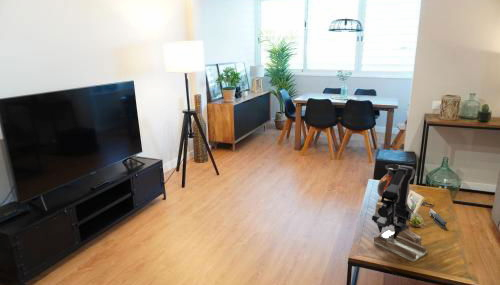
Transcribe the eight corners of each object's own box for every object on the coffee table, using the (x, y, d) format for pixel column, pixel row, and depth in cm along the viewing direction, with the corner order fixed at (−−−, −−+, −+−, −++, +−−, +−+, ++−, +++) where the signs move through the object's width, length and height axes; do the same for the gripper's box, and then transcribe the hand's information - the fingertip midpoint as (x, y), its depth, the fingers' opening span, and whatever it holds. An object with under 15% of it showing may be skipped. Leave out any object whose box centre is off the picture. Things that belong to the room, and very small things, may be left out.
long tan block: (404, 234, 209) (405, 226, 208) (421, 246, 196) (422, 237, 195) (398, 235, 208) (398, 227, 206) (414, 247, 195) (415, 239, 194)
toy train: (374, 218, 229) (375, 205, 227) (378, 209, 243) (379, 195, 241) (383, 220, 226) (384, 206, 224) (387, 210, 241) (388, 197, 238)
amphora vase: (378, 195, 266) (380, 161, 259) (408, 200, 257) (412, 164, 250) (374, 206, 247) (377, 169, 240) (407, 211, 238) (411, 173, 231)
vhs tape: (432, 209, 241) (432, 207, 241) (420, 207, 245) (420, 204, 245) (435, 202, 253) (435, 200, 252) (423, 200, 257) (423, 197, 256)
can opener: (426, 214, 234) (427, 207, 232) (436, 214, 233) (437, 208, 232) (439, 228, 215) (440, 221, 214) (450, 228, 215) (451, 221, 213)
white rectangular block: (388, 236, 205) (388, 230, 204) (394, 239, 202) (394, 232, 201) (379, 241, 200) (380, 235, 199) (385, 244, 197) (386, 238, 196)
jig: (387, 235, 208) (388, 230, 207) (427, 252, 189) (427, 247, 188) (373, 242, 200) (374, 237, 199) (413, 261, 181) (413, 256, 180)
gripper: (366, 209, 199) (365, 233, 203) (396, 221, 184) (394, 247, 188) (378, 204, 205) (376, 227, 209) (408, 215, 191) (405, 240, 194)
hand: (387, 235), depth 200 cm, fingers open, 9 cm apart
